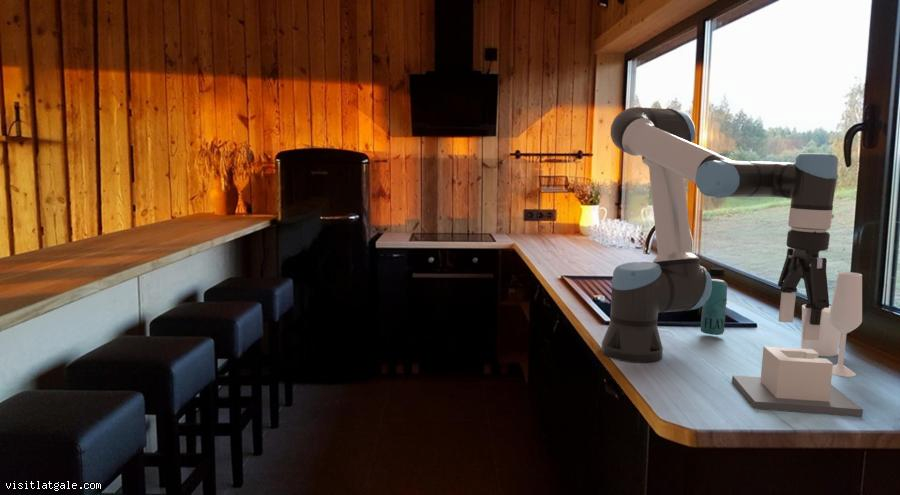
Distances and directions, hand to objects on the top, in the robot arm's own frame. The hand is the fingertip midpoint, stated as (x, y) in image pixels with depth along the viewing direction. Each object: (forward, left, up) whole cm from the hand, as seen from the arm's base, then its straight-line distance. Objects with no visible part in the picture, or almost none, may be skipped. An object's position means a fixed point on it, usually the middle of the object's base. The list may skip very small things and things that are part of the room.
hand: (797, 330), depth 131 cm
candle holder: (+20, +38, -15) cm, 45 cm away
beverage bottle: (-5, +47, -15) cm, 49 cm away
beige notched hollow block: (0, 0, -13) cm, 13 cm away
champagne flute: (+18, +21, -15) cm, 31 cm away
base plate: (0, 0, -15) cm, 15 cm away
